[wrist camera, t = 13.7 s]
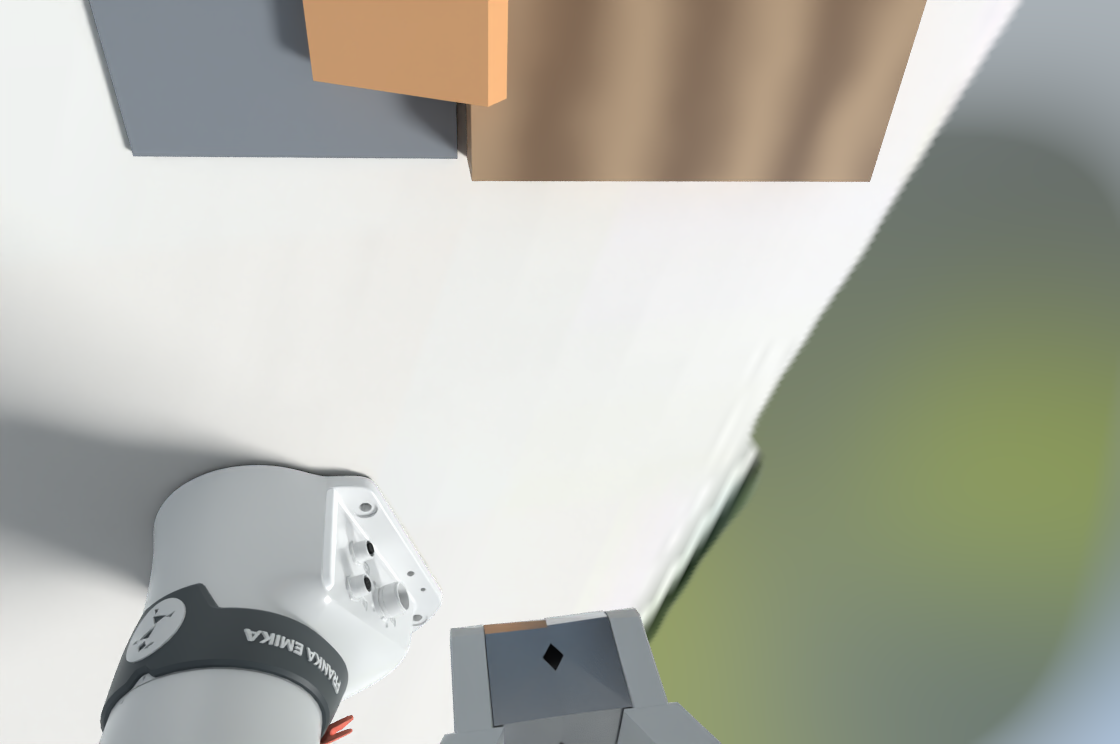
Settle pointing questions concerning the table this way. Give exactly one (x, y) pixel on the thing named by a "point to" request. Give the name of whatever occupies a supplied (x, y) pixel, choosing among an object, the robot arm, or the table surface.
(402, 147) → the mat
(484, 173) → the deck
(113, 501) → the table surface
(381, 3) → the block
